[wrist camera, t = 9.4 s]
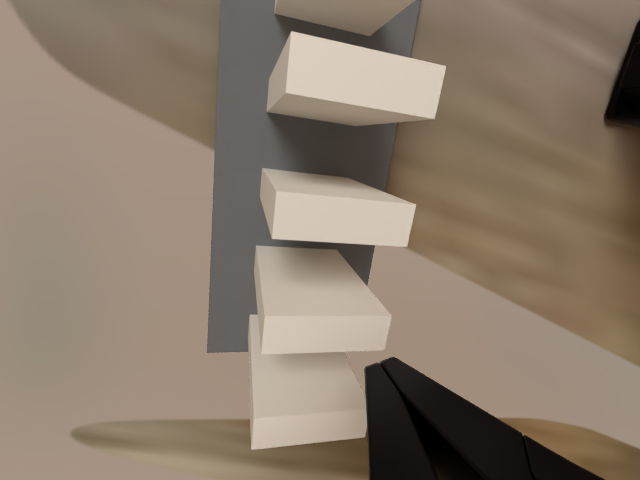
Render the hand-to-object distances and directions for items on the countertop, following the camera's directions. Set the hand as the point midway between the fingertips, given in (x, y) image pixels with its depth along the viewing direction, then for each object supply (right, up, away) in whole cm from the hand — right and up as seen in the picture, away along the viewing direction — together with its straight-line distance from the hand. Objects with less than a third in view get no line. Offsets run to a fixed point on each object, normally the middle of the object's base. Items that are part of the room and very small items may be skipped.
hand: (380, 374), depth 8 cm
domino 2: (-2, +7, +10) cm, 12 cm away
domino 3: (-3, +2, +11) cm, 12 cm away
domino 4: (-4, -2, +13) cm, 13 cm away
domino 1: (-2, +11, +9) cm, 14 cm away
